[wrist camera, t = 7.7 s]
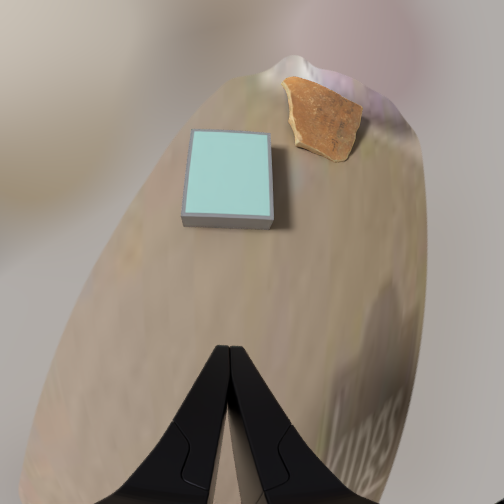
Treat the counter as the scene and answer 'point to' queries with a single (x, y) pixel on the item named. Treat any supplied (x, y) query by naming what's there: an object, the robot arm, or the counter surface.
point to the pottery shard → (321, 119)
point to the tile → (228, 180)
